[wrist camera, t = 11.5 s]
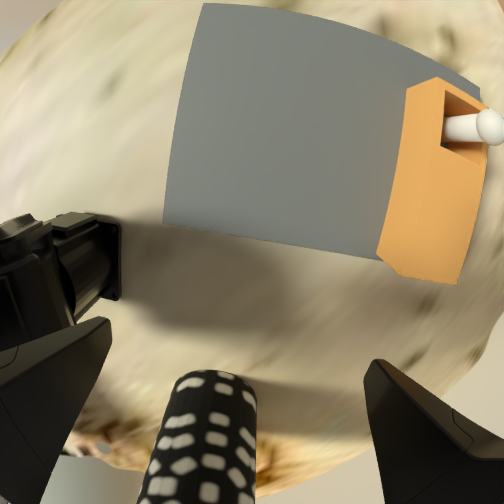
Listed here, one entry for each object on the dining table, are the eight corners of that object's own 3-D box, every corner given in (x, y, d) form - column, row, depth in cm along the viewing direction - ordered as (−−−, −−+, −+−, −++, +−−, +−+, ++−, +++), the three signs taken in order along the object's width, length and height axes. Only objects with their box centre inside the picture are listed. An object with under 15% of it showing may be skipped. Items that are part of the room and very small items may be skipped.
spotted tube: (181, 358, 23) (114, 575, 4) (269, 384, 24) (274, 598, 5) (167, 409, 26) (120, 572, 7) (241, 430, 26) (230, 594, 7)
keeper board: (438, 266, 20) (505, 317, 12) (169, 219, 19) (108, 263, 11) (469, 90, 15) (542, 77, 7) (207, 12, 14) (177, -61, 6)
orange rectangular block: (427, 264, 18) (455, 285, 15) (375, 253, 18) (400, 276, 15) (456, 113, 15) (490, 109, 11) (406, 88, 15) (437, 76, 11)
